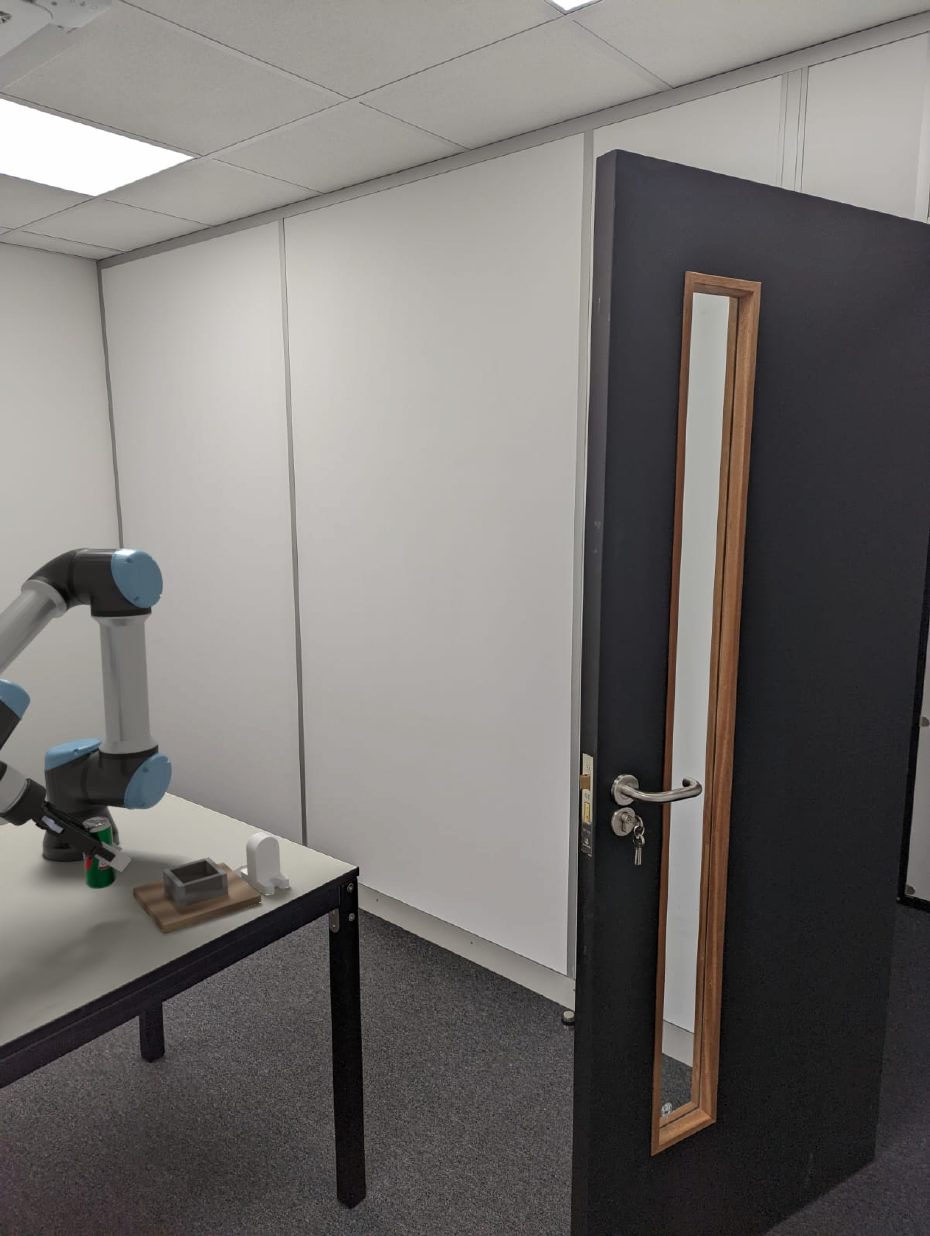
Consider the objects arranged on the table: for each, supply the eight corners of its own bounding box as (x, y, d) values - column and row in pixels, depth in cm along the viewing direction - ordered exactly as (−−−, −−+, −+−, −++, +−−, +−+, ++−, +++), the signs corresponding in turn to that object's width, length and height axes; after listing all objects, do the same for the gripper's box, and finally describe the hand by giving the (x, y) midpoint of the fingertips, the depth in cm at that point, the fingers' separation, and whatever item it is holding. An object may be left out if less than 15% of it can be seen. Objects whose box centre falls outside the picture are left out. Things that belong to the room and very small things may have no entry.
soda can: (105, 891, 154) (99, 828, 152) (80, 889, 155) (74, 826, 153) (122, 878, 159) (116, 816, 157) (97, 876, 160) (91, 814, 158)
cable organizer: (263, 871, 175) (261, 824, 173) (290, 887, 168) (288, 838, 166) (240, 879, 171) (237, 832, 170) (266, 896, 164) (264, 846, 163)
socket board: (133, 895, 165) (131, 868, 164) (223, 869, 176) (222, 843, 175) (164, 933, 151) (162, 904, 150) (261, 902, 162) (259, 875, 161)
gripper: (-13, 798, 152) (94, 860, 164) (7, 832, 138) (122, 896, 150) (17, 763, 154) (120, 826, 167) (39, 792, 140) (150, 859, 153)
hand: (121, 859), depth 158 cm, fingers closed on soda can, 5 cm apart
